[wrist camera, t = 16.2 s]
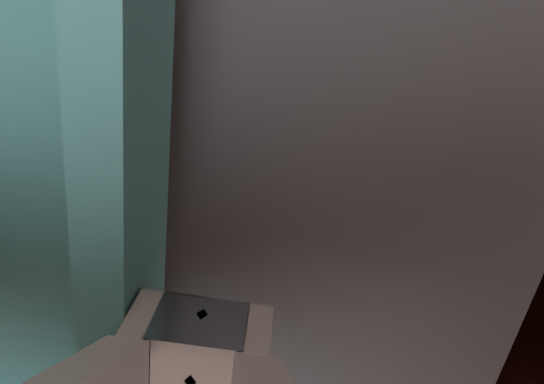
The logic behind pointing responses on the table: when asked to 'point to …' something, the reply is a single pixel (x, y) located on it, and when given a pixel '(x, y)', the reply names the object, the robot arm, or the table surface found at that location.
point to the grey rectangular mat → (362, 179)
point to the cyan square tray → (80, 171)
